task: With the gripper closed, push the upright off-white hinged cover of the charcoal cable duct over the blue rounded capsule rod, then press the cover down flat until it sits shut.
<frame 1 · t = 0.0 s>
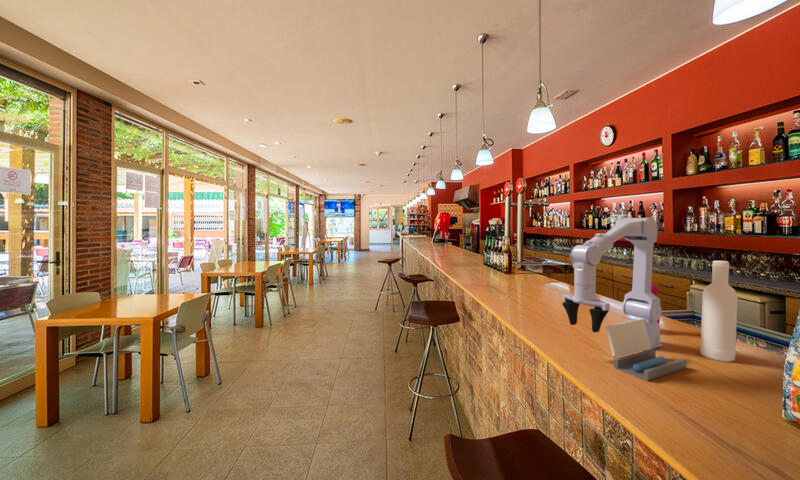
hand: (584, 327, 101), 10 cm above the table, tool pointing down, fingers open, 7 cm apart
cable duct: (649, 368, 96), on the table
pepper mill: (647, 331, 127), on the table
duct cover: (629, 337, 101), point 7 cm above the table, hinge at 105.0°
bottle: (717, 357, 103), on the table
blue rounded capsule rod: (649, 368, 96), resting on cable duct
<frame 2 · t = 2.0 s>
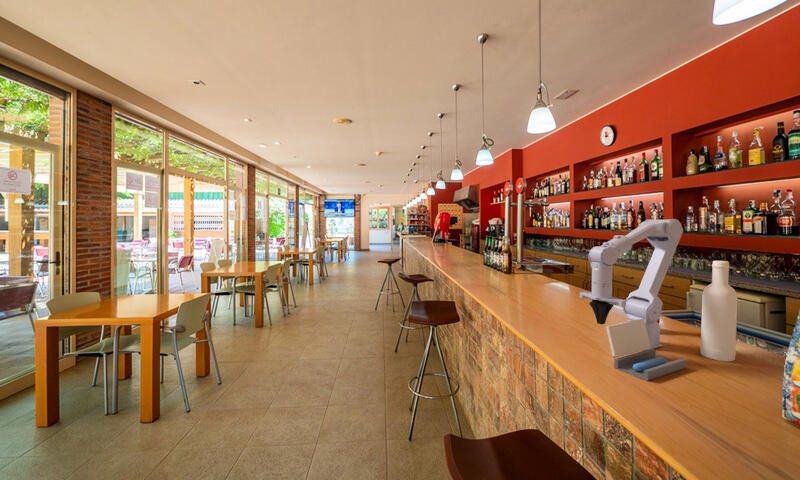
hand: (601, 323, 109), 9 cm above the table, tool pointing down, fingers closed
nothing on the table moved.
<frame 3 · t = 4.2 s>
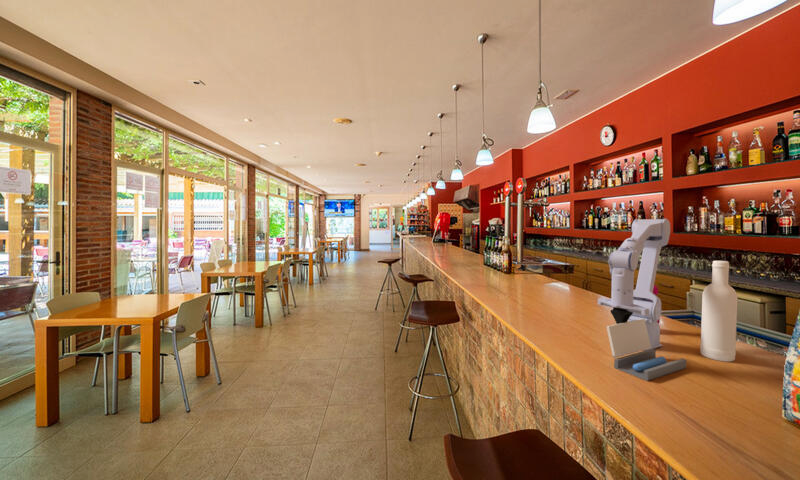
hand: (621, 332, 103), 8 cm above the table, tool pointing down, fingers closed
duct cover: (629, 337, 101), point 7 cm above the table, hinge at 103.9°, touching gripper
everything else where it was.
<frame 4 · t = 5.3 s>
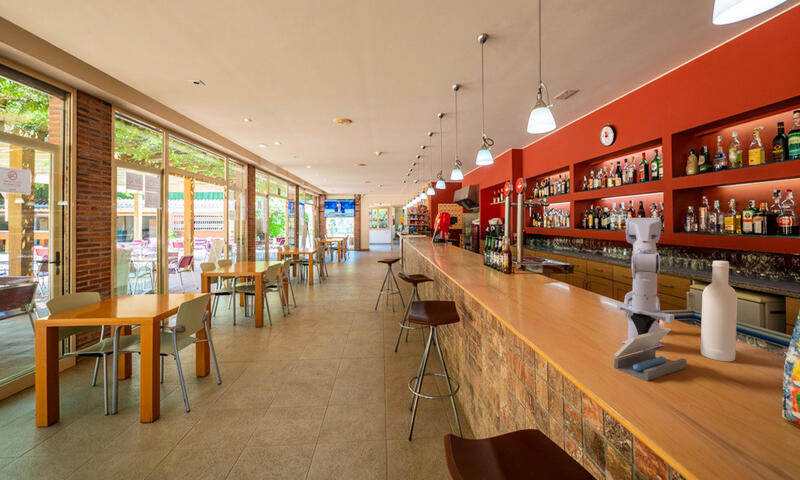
hand: (642, 339, 97), 8 cm above the table, tool pointing down, fingers closed, pressing on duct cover
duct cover: (642, 342, 97), point 7 cm above the table, hinge at 54.2°, touching gripper
everything else where it was.
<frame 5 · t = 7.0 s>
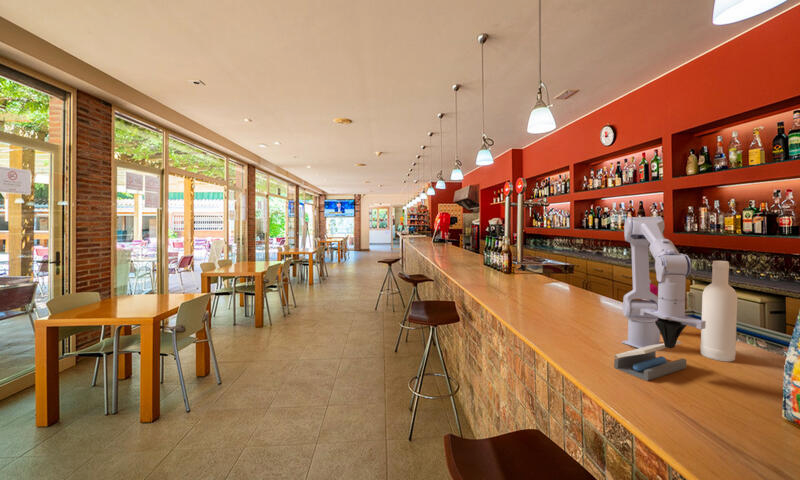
hand: (669, 347, 91), 8 cm above the table, tool pointing down, fingers closed
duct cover: (647, 349, 96), point 5 cm above the table, hinge at 27.8°
everything else where it was.
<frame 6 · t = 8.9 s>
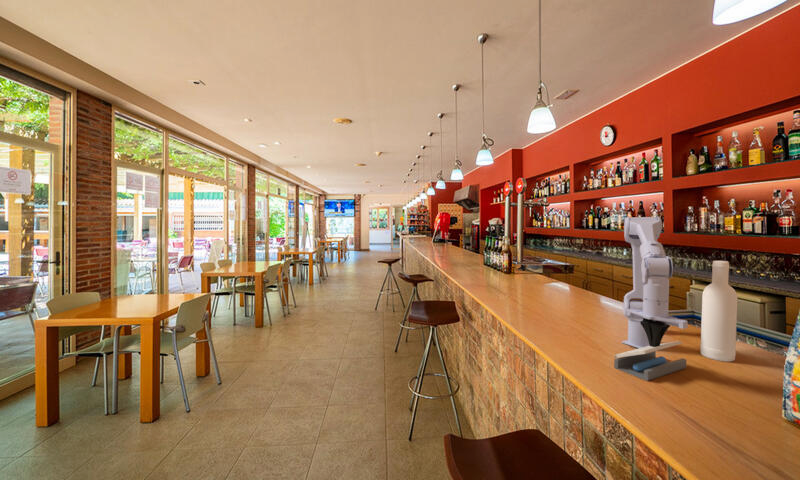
hand: (654, 346, 94), 7 cm above the table, tool pointing down, fingers closed
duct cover: (647, 349, 96), point 5 cm above the table, hinge at 27.5°, touching gripper
everything else where it was.
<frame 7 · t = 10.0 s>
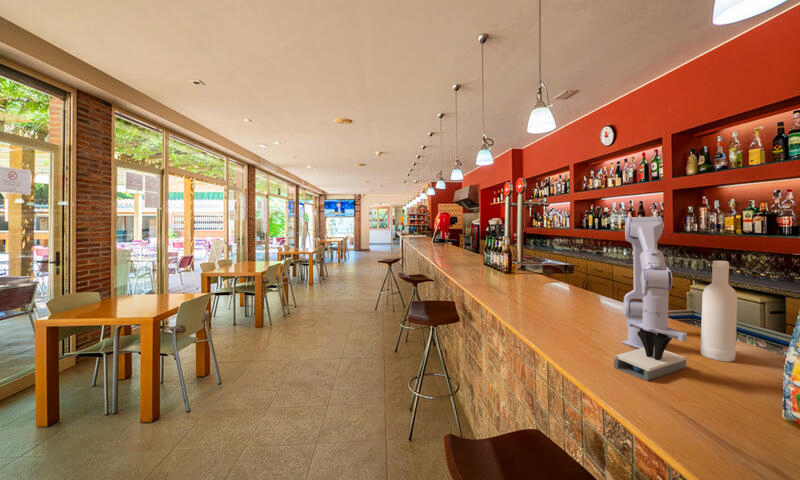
hand: (653, 357, 95), 3 cm above the table, tool pointing down, fingers closed
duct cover: (650, 357, 96), point 3 cm above the table, hinge at -2.0°, touching cable duct, gripper
everything else where it was.
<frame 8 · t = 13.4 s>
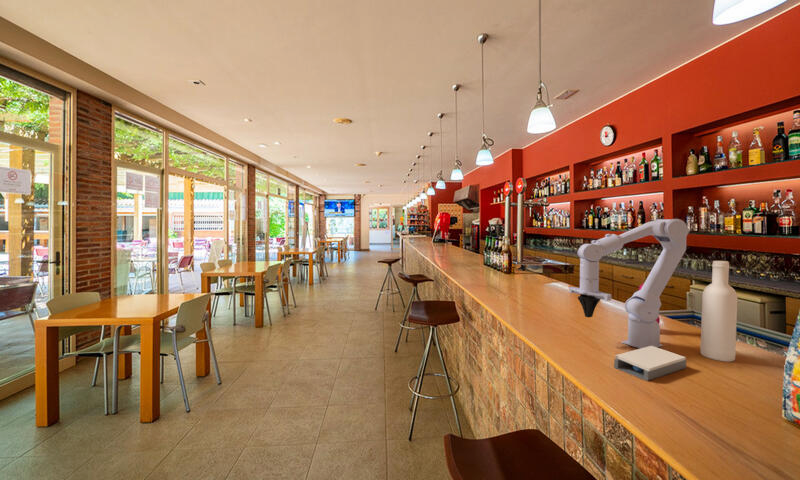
hand: (588, 316, 115), 9 cm above the table, tool pointing down, fingers closed
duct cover: (650, 357, 96), point 3 cm above the table, hinge at -2.0°, touching cable duct
everything else where it was.
at the end: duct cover at -2° (first picture: +105°); blue rounded capsule rod moved 0.0 cm from its start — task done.
